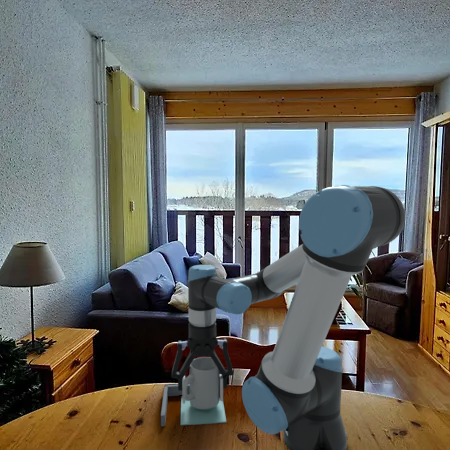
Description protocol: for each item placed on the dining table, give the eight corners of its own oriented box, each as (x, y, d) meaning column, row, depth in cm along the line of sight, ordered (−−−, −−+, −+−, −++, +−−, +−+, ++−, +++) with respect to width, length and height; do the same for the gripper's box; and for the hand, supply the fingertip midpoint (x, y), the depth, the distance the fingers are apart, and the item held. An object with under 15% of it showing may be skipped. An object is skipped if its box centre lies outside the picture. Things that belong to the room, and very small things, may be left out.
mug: (205, 389, 110) (205, 354, 109) (225, 400, 105) (226, 363, 103) (173, 406, 102) (173, 367, 101) (194, 419, 96) (194, 379, 95)
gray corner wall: (216, 391, 112) (216, 382, 112) (220, 423, 97) (220, 412, 97) (164, 394, 111) (164, 385, 110) (161, 426, 96) (160, 415, 96)
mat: (221, 395, 110) (221, 394, 110) (226, 422, 98) (226, 421, 97) (181, 397, 109) (181, 396, 109) (180, 425, 96) (180, 424, 96)
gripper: (240, 315, 106) (240, 390, 108) (162, 318, 103) (163, 394, 106) (244, 325, 98) (244, 405, 100) (159, 328, 96) (161, 409, 98)
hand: (202, 399), depth 103 cm, fingers closed on mug, 10 cm apart
